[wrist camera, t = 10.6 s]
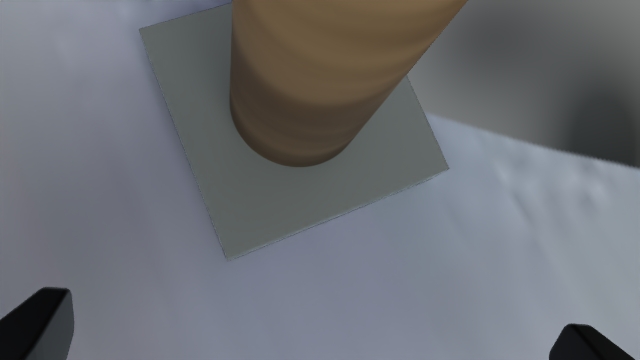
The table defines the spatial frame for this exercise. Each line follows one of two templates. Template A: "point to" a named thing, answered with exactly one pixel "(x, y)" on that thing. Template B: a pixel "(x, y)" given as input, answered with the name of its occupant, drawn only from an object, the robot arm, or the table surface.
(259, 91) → the walnut canister
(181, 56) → the slate trivet
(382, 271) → the table surface
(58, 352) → the robot arm
